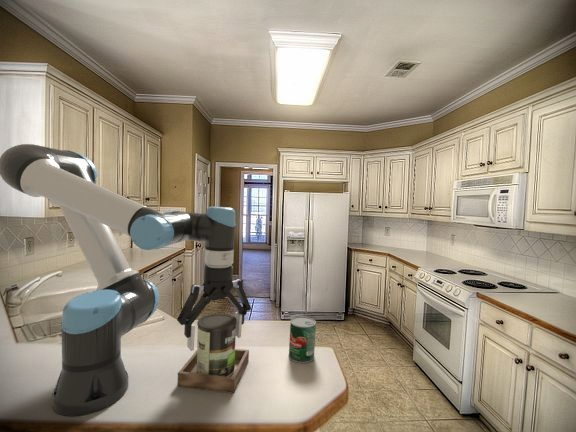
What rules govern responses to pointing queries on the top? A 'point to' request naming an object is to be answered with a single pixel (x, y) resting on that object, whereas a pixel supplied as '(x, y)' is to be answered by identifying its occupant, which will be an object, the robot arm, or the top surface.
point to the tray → (213, 382)
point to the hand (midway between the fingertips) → (215, 341)
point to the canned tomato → (302, 339)
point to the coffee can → (216, 345)
